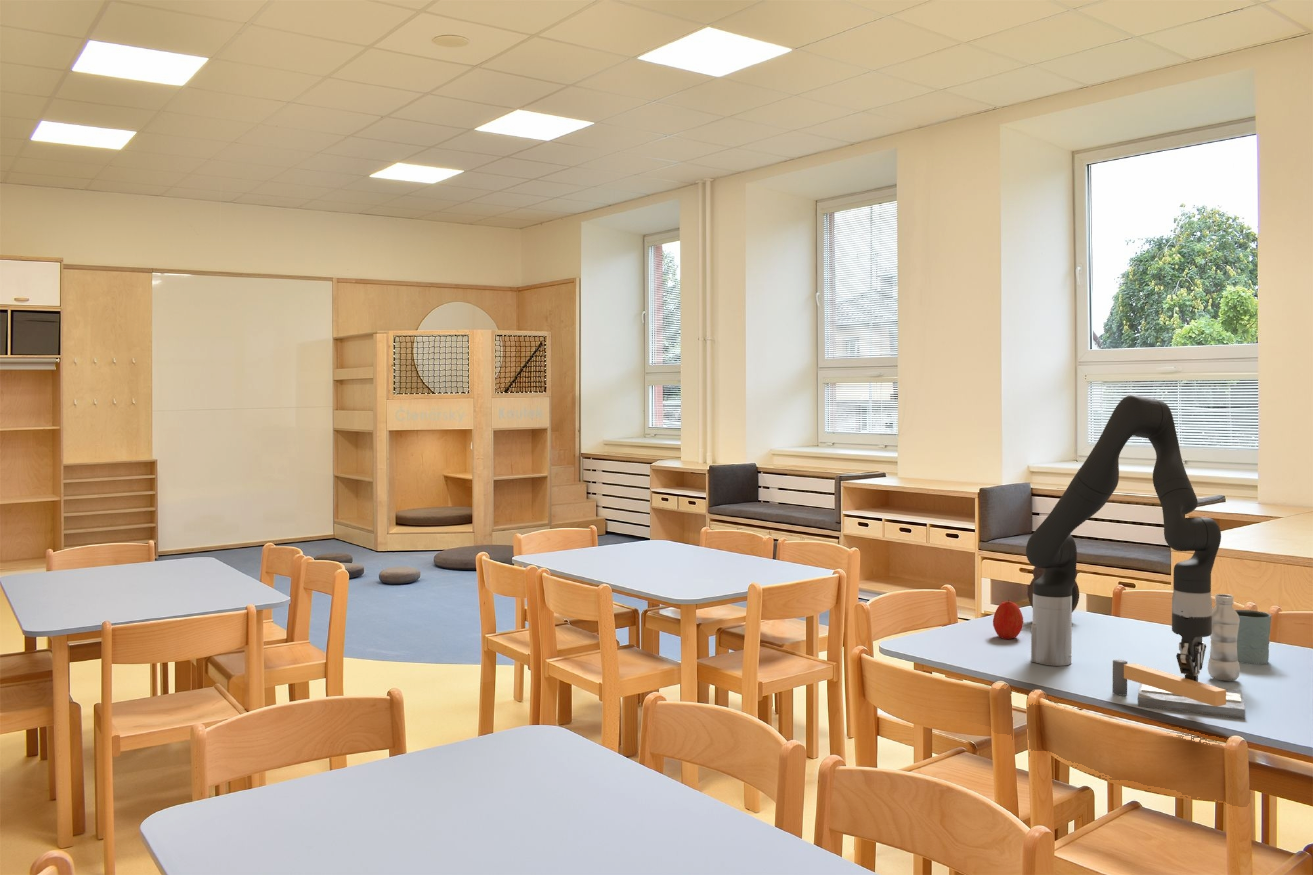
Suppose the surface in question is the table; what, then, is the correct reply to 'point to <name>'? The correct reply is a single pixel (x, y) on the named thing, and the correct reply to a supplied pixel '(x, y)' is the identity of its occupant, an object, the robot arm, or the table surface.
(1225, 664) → the plastic bottle
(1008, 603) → the apple
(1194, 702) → the label board
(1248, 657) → the teal cup
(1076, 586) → the alarm clock
